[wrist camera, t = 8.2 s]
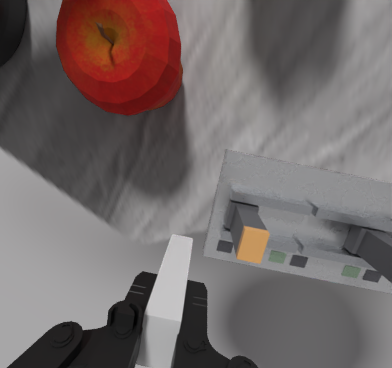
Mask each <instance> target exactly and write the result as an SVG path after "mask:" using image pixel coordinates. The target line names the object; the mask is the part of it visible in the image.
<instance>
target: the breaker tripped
mask: <svg viewBox="0 0 392 368" xmlns="http://www.w3.org/2000/svg"><path fill="white" fill-rule="evenodd" d="M258 211H259V207H258V205H254V204H249V203H244V202H239V201H234V200H231V199H230V200H229V204H228V208H227V212H226V216H225V220H224V225H225V228H229V229H230V232H231V236H232V241H233V245H234V250H235V254H236V258H237V259H238V260H243V261H248V262H253V263H258V264H260V263H261V260H262V257H263V254H264V251H265V248H266V245H267V241H268V238H269V235H270V234H269V232H268V230H267V229H266V227H265V225H264V223H263V222H262V220H261V218H260V217H259V215H258Z"/></svg>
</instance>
